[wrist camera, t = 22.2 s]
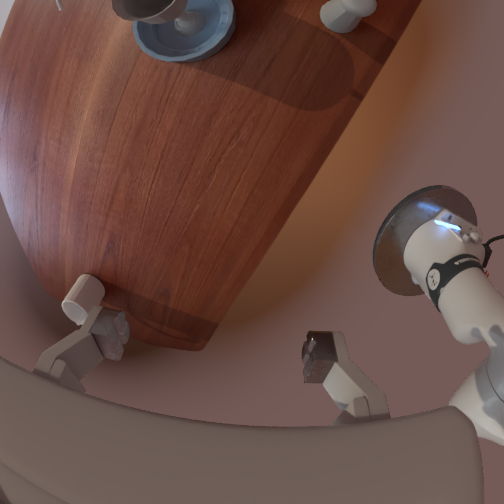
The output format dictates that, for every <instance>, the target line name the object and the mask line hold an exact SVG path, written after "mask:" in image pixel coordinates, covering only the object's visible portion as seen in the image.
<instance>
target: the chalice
mask: <svg viewBox="0 0 504 504" xmlns="http://www.w3.org/2000/svg"><path fill="white" fill-rule="evenodd" d="M187 1H188V0H112V6H113V10H114V11H115V13H116V14H117V15H118V16H119V17H121V18H123V19H125V20H130V21H143V22H146V23H150V24H162V23H166V22H169V21H172V20H174V19H175V20H174V30H175V31H176V33H178V34H179V35H181V36H184V37H190V36H194V35H196V34H198V33H199V32H201V31H202V30H203V28H204V26H205V23H206V19H205V16H204V14H203V13H201V12H200V11H198V10H186V11H184V10H185V9H186V5H187Z"/></svg>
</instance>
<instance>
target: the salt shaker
mask: <svg viewBox="0 0 504 504" xmlns="http://www.w3.org/2000/svg"><path fill="white" fill-rule="evenodd" d="M376 6H377V3H376V0H331V1H329V2H327V3H326V4H324V5H323V6H322V8H321V11H320V17H321V21H322V22H323V23H324V25H325V26H326V27H327V28H329V29H330V30H332V31H334V32H338V33H346V32H351V31H352V30H353V29H355V28H356V27H357V25H358V24H359V22H360V20H361V19H362V17H365V16H369V15H371V14H372V13H373V12H374V11H375V10H376Z"/></svg>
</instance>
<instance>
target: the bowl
mask: <svg viewBox="0 0 504 504" xmlns="http://www.w3.org/2000/svg"><path fill="white" fill-rule="evenodd" d="M186 10H198V11H200V12H201V13H203V14H204V16H205V19H206V23H205V26H204V28H203V30H202V31H201V32H199V33H198V34H196V35H194V36H190V37H184V36H181V35H179V34H178V33H176V31H175V30H174V20H175V19H174V20H172V21H169V22H166V23H162V24H150V23H146V22H143V21H133V32H134V36H135V40H136V42H137V43H138V45H139V46H140V47H141V49H142V50H143V51H144V52H145V53H147V54H149V55H150V56H152V57H153V58H156V59H160V60H164V61H169V62H174V63H193V62H197V61H200V60H203V59H206V58H208V57H210V56H212V55H213V54H215V53H217V52H218V51H219V50H221V49H222V48H223V47H224V46H225V44H226V43H227V42H228V41H229V40H230V38H231V36H232V34H233V32H234V30H235V28H236V20H237V14H236V11H235V7H234V4H233V1H232V0H188V1H187V5H186V9H185V10H184V11H186Z"/></svg>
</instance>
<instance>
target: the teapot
mask: <svg viewBox="0 0 504 504" xmlns="http://www.w3.org/2000/svg"><path fill="white" fill-rule="evenodd" d="M56 3H57V5H58V8H59V11H61V10H62V9H63V4H62V2H61V0H56Z"/></svg>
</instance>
